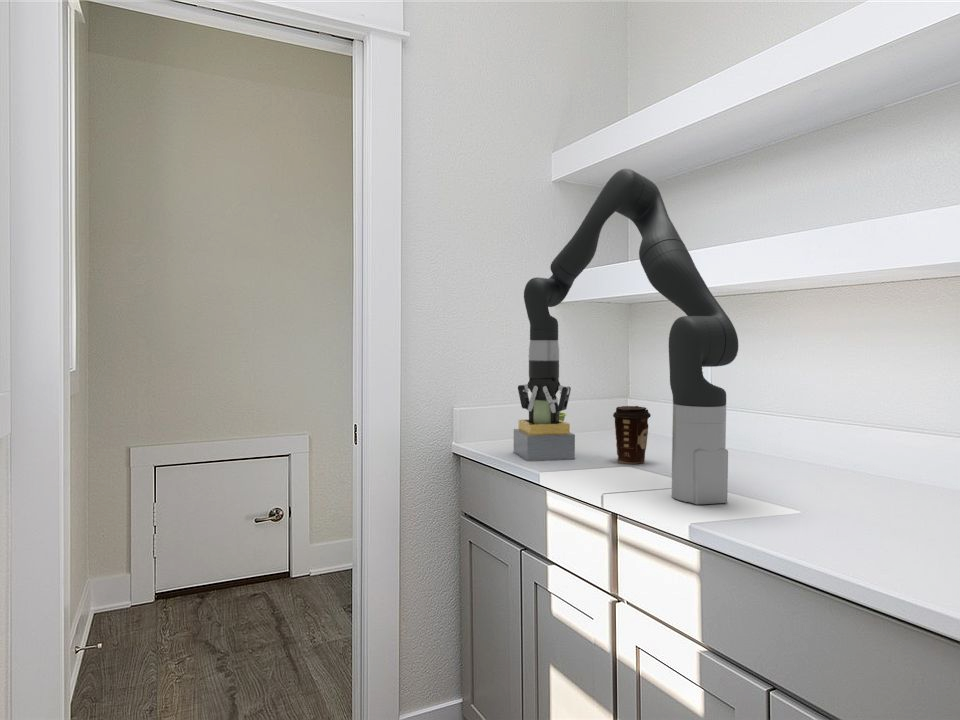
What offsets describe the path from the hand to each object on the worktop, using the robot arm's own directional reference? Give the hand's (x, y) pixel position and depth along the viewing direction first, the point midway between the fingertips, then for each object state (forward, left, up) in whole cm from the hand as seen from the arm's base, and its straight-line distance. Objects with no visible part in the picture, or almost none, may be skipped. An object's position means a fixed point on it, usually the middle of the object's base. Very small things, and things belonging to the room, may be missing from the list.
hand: (543, 426), depth 159 cm
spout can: (0, 0, -2) cm, 2 cm away
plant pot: (+16, -7, -7) cm, 19 cm away
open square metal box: (0, 0, -7) cm, 7 cm away
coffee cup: (-12, -18, -7) cm, 23 cm away
